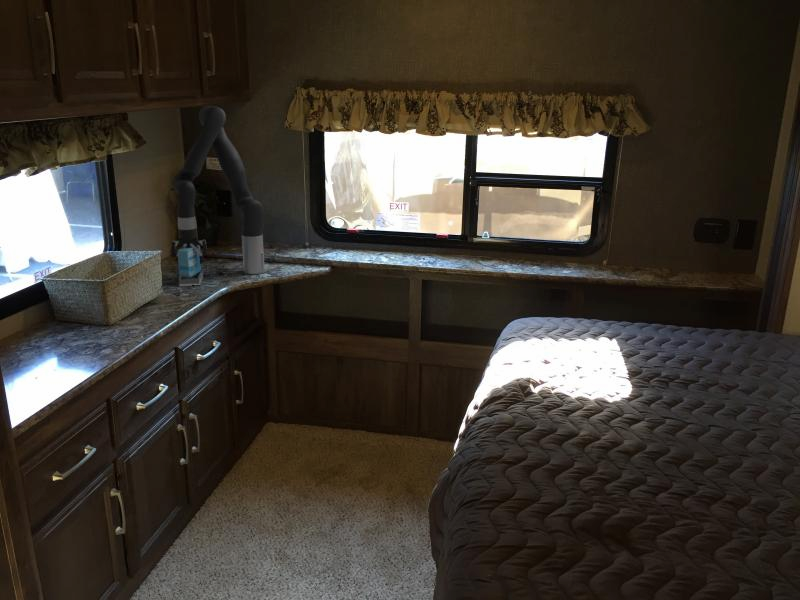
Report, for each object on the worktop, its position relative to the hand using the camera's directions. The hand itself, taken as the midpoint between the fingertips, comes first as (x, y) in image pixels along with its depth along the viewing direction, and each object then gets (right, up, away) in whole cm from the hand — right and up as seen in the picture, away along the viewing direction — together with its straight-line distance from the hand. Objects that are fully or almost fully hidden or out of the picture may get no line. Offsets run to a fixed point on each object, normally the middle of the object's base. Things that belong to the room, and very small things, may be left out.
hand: (190, 264), depth 292 cm
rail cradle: (0, -7, +2) cm, 7 cm away
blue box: (0, -4, +1) cm, 5 cm away
